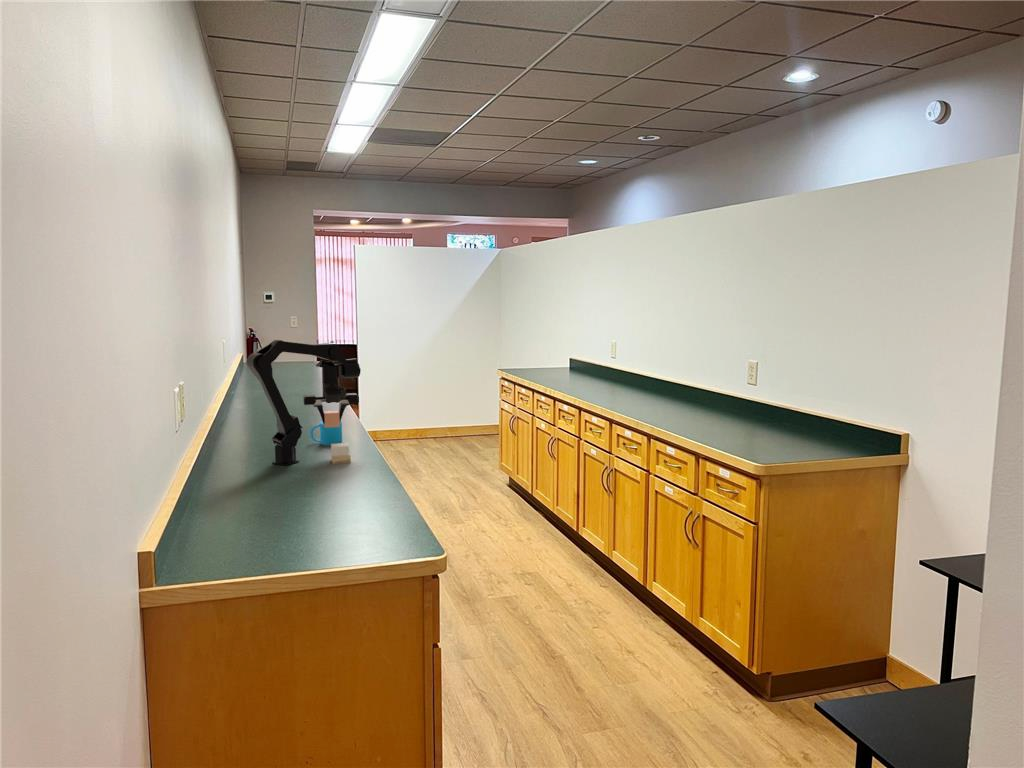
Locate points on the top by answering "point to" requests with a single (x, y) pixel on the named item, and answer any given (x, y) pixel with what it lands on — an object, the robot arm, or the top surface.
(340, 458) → the slab lower
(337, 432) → the mug
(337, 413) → the coral cube
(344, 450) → the slab upper
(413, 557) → the top surface
